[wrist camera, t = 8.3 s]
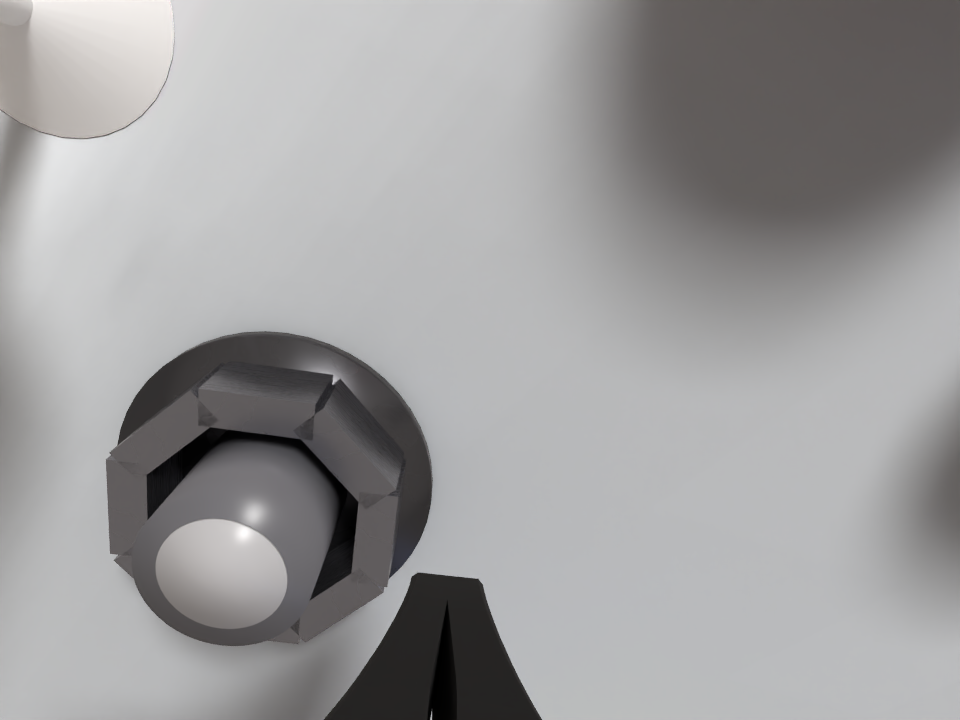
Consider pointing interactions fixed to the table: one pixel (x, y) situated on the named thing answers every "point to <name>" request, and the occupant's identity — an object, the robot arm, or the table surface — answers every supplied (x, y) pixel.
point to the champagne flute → (83, 62)
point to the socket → (287, 413)
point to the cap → (240, 540)
